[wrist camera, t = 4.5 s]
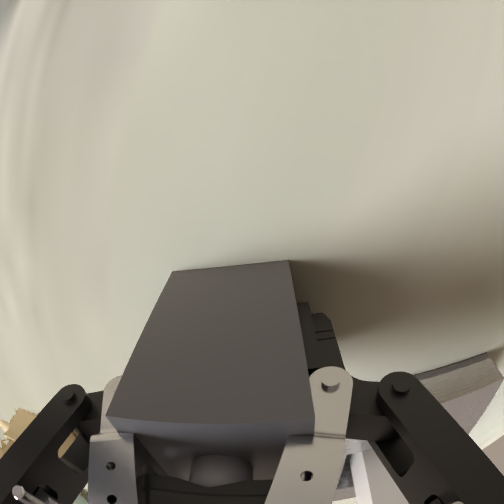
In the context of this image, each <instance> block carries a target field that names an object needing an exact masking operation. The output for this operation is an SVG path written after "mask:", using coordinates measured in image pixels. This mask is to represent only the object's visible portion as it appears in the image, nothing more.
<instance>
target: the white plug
mask: <svg viewBox="0 0 504 504" xmlns="http://www.w3.org/2000/svg"><path fill="white" fill-rule="evenodd" d="M350 466H351V472H352V477H353V483H354V488H355V494H356V500H357V504H409V503H408V501H407V500H406V498H405V497H404V495H403V494H402V492H401V491H400V489H399V488H398V486H397V485H396V483H395V482H394V480H393V479H392V477H391V476H390V474H389V473H388V471H387V470H386V468H385V467H384V465H383V464H382V462H381V461H380V459H379V458H378V456H377V455H376V453H375V452H374V450H373V449H372V450H368V451H363V452H358V453H353V454H352V455H351V458H350Z"/></svg>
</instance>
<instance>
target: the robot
mask: <svg viewBox="0 0 504 504" xmlns="http://www.w3.org/2000/svg"><path fill="white" fill-rule="evenodd" d="M36 416H37V415H35V414H32V413H30V412H27V411H25V410H23V409H20V408H19V409H18V411H17V413H16V415H15V416H13V417H12V419H11V420H10V423H8V422H6V421H3V420H0V426H1V427H2V429H3V430H4V431H5V433H4V436H5V437H6V438H7V439H6V440H9V442H8V444H7V445H6V444H5V443H4V442H3V441H5V440H1V443H2V448H0V459H1V457H2V456H3V455H4V454H5V453H6V451H7V450H8V449H9V448H10V447H11V445H12V444H13V443H14V442H15V441H16V439H17V438H18V437H19V436H20V435H21V434H22V432H23V431H24V430H25V429H26V428H27V427H28V425H29V424H30V423H31V422H32V421H33V420H34V419H35V417H36ZM75 439H76V437H75V436H74V435H73V433H71V434H70V435H69V437H68V438H67V439H66V440H65V442H64V443H63V444H62V445H61V447H60V448H59V450H58V457H59V458H60V457H62V456H63V455H64V453H65V452H66V451H67V449H68V448H69V447H70V446H71V444H72V443H73V442H74V440H75ZM80 494H81V492H80ZM73 504H74V502H73Z"/></svg>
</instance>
